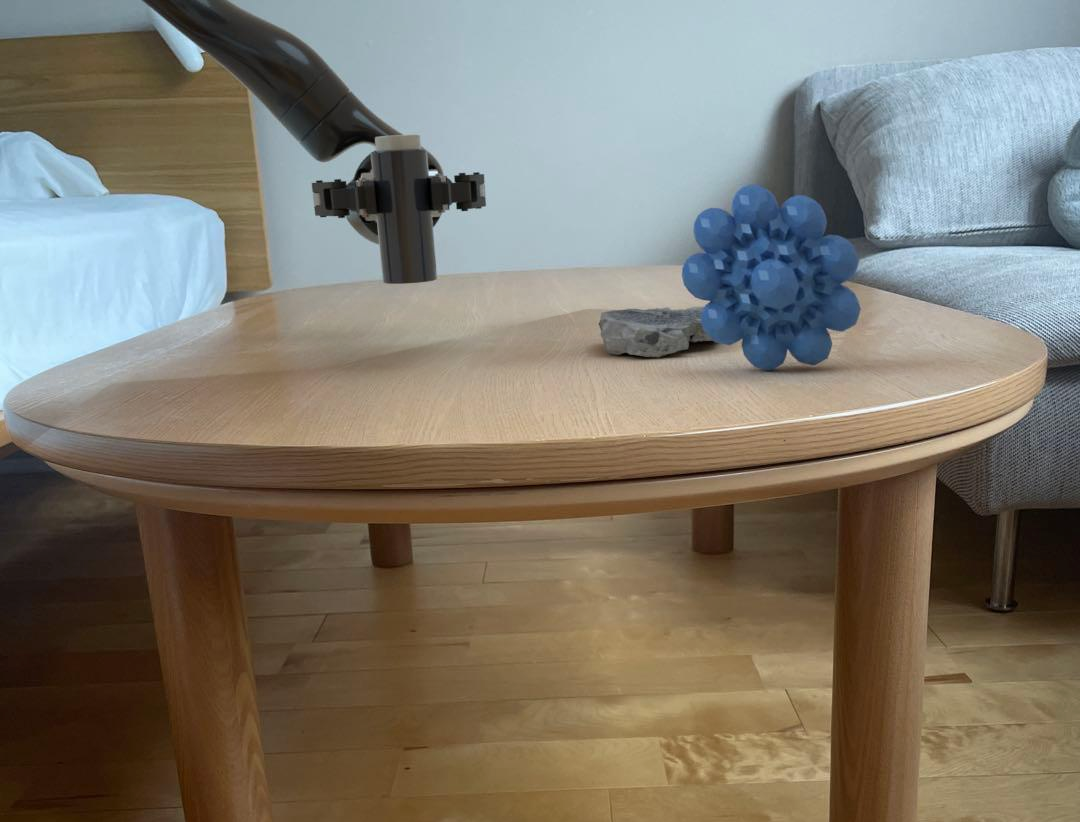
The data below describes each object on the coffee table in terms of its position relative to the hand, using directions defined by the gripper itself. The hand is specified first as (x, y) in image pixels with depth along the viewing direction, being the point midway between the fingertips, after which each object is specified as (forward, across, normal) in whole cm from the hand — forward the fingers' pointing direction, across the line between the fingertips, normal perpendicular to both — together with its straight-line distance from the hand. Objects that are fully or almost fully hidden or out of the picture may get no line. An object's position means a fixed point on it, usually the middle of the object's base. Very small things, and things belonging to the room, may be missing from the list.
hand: (404, 196), depth 73 cm
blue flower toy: (+10, +23, +12) cm, 28 cm away
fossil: (-4, +19, +13) cm, 23 cm away
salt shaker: (-3, 0, +6) cm, 7 cm away
